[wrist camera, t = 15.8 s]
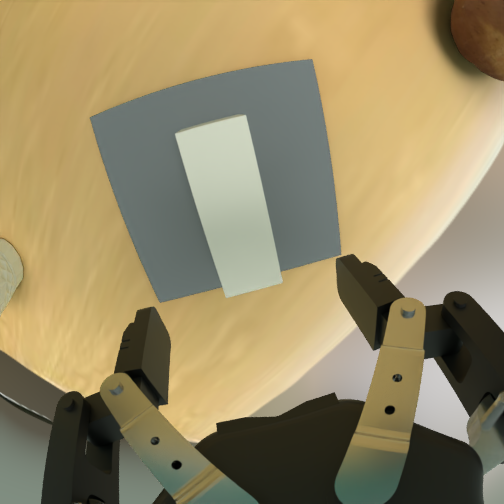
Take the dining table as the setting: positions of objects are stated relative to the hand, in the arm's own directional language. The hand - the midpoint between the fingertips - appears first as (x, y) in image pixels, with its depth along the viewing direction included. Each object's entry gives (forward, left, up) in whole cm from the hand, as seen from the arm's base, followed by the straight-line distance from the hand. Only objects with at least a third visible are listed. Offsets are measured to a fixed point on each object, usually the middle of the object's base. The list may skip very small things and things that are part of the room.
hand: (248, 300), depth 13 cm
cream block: (0, -7, -13) cm, 15 cm away
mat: (0, +1, -16) cm, 16 cm away
